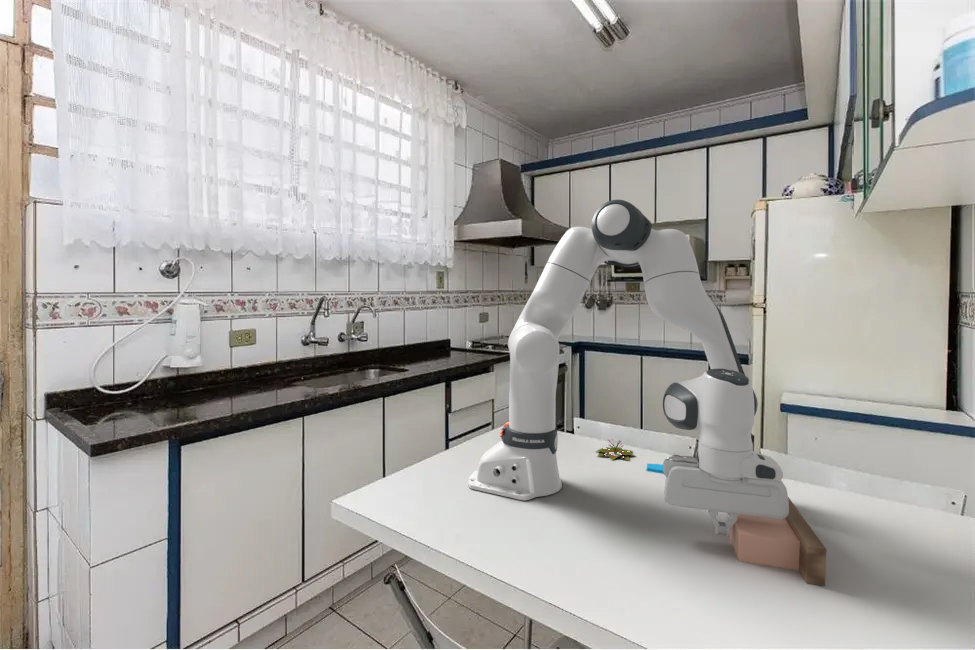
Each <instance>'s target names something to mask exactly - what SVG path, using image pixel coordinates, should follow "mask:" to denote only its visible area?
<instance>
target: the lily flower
mask: <svg viewBox="0 0 975 650" xmlns="http://www.w3.org/2000/svg"><path fill="white" fill-rule="evenodd" d="M611 439H612V442H611V440H610V439H607V441H608V443H610V444H608V446H609V447H606V446H605V447H606V448H607V449H603V448H599V449H597V450H596V452H600V453H598V455H597V457H604V456H603V455H604V453H607V454H608V455H606V457H609V458H610V459H611V461H614V460H615V459H616V458H618V459H620V458H619V457H621V456H622V455H625V456H624V458H625V459H623V457H621V460H626V461H628V462H629V461H630V457H629V456H631V457H636V455H635V454H634V453H632V452H633V450H631V449H630V450H628V449H624V448H622V447H624V444H622V443H621V442H622V441H621V439H619V440H618V442H617V441H615V442H614V440H613V438H611ZM608 449H610V450H608ZM622 451H624V452H622ZM627 451H630V452H627ZM609 452H614V453H613V454H612V455H611V454H609ZM617 452H619V453H621V454H622V455H619V454H617ZM617 455H618V456H617Z"/></svg>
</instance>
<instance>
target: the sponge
mask: <svg viewBox="0 0 975 650" xmlns="http://www.w3.org/2000/svg"><path fill="white" fill-rule="evenodd" d="M646 471H647V472H650V473H657V474H662V475H664V472H663V464H661V463H646Z"/></svg>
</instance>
